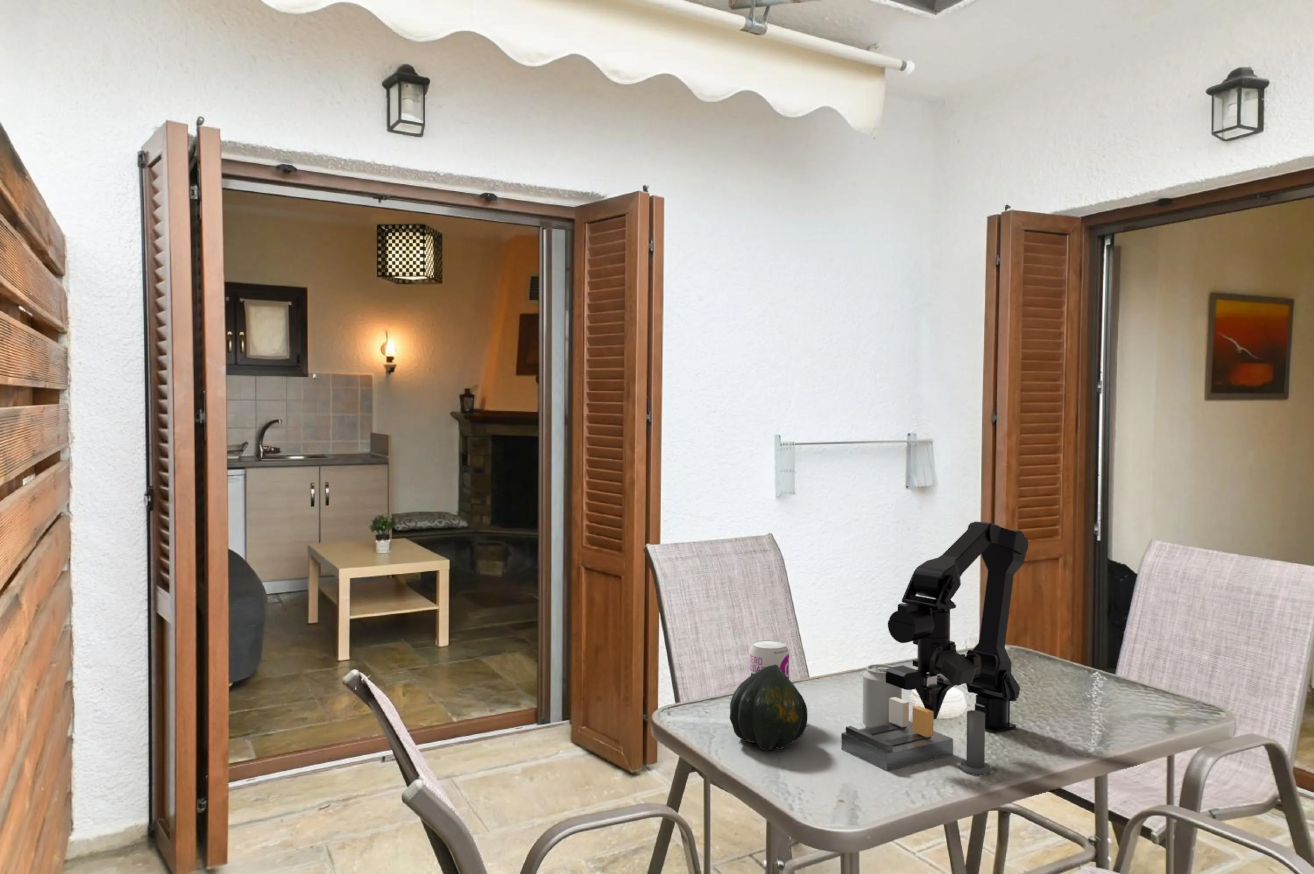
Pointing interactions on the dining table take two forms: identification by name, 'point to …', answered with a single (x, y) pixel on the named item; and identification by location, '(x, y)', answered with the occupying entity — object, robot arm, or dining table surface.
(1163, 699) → the dining table surface
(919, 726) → the slider
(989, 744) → the dining table surface
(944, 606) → the robot arm
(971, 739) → the rubber post
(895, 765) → the breaker block
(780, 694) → the squash
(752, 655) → the supplement can
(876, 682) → the can
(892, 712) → the slider
